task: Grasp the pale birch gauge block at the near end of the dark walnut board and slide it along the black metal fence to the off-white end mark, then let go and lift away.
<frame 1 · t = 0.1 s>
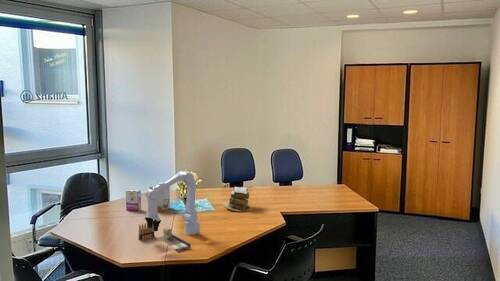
hand: (153, 229, 260), 10 cm above the table, tool pointing down, fingers open, 7 cm apart
gauge block: (167, 237, 269), point 1 cm above the table, touching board
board: (173, 244, 262), on the table
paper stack: (238, 208, 343), on the table
ammunition clip: (146, 240, 269), on the table
candy bar box: (133, 210, 336), on the table
hard drive box: (159, 209, 337), on the table
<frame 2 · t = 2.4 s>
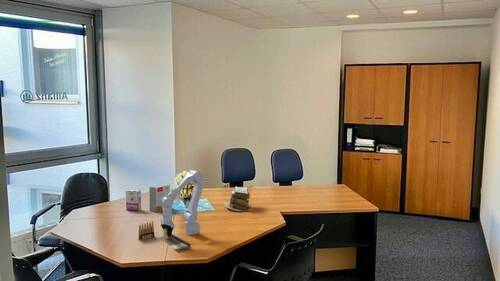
hand: (167, 235, 269), 3 cm above the table, tool pointing down, fingers closed on gauge block, 4 cm apart
gauge block: (167, 237, 269), point 1 cm above the table, touching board, gripper
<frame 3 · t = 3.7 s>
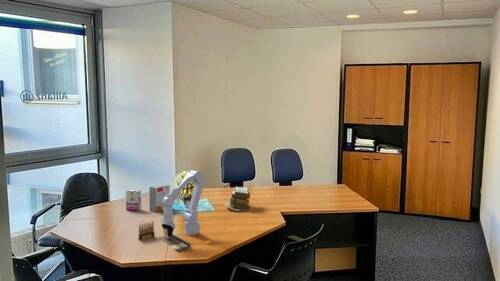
hand: (168, 235, 269), 3 cm above the table, tool pointing down, fingers closed on gauge block, 4 cm apart
gauge block: (168, 237, 269), point 2 cm above the table, touching gripper
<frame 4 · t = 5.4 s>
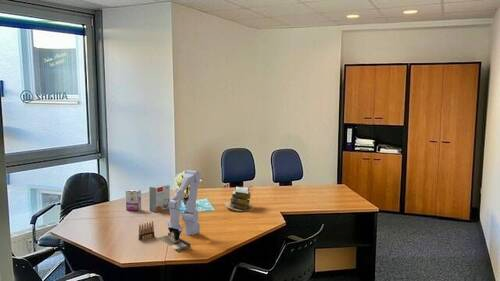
hand: (175, 239, 262), 3 cm above the table, tool pointing down, fingers closed on gauge block, 4 cm apart
gauge block: (175, 241, 262), point 2 cm above the table, touching gripper
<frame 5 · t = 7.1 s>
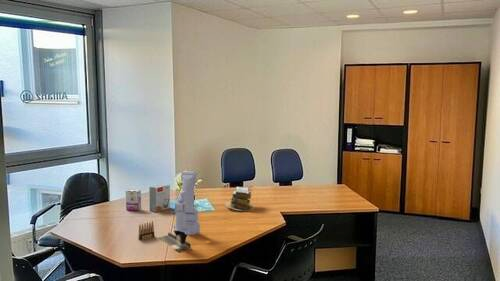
hand: (181, 242, 256), 3 cm above the table, tool pointing down, fingers closed on gauge block, 4 cm apart
gauge block: (181, 244, 257), point 2 cm above the table, touching gripper
when the fingers open (3 cm above the table, at t = 8.4 s): gauge block stays where it is, resting on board.
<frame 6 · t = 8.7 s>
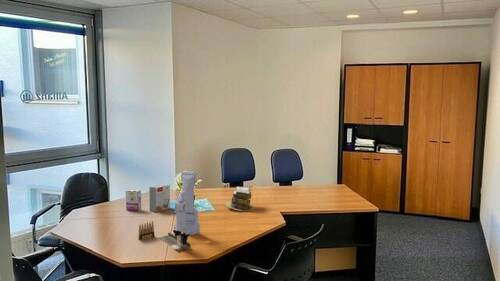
hand: (181, 242, 256), 3 cm above the table, tool pointing down, fingers open, 7 cm apart
gauge block: (181, 245, 257), point 1 cm above the table, touching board
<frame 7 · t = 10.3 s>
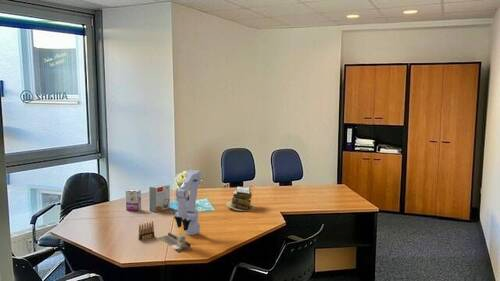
hand: (182, 228, 262), 10 cm above the table, tool pointing down, fingers open, 7 cm apart
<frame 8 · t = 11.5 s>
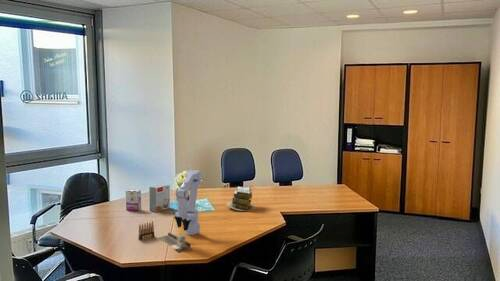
hand: (182, 228, 262), 10 cm above the table, tool pointing down, fingers open, 7 cm apart
at the end: gauge block 0.4 cm from the target spot, point 1.5 cm above the table; gauge block tilted 0°; the gripper is holding nothing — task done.
